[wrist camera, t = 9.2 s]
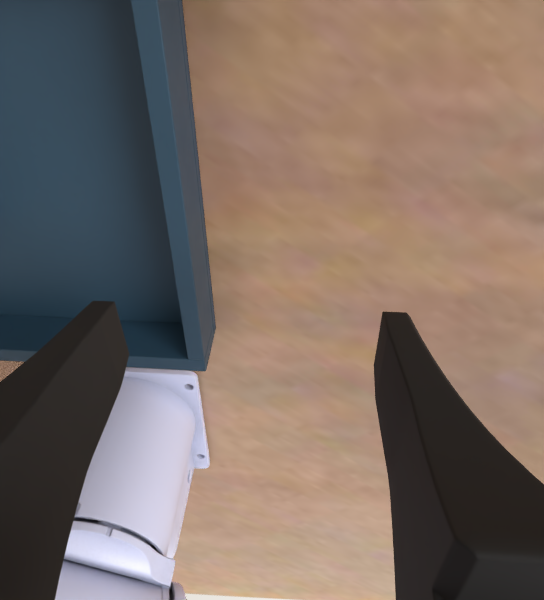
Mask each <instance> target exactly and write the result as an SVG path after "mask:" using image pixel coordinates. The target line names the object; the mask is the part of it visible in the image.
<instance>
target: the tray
mask: <svg viewBox="0 0 544 600" xmlns="http://www.w3.org/2000/svg"><path fill="white" fill-rule="evenodd" d="M92 301H115V304H116V308H117V312H118V315H119V319H120V322H121V326H122V329H123V333H124V337H125V340H126V344H127V347H128V351H129V358H128V362H127V366H126V367H133V368H152V369H171V370H189V371H206V368H207V364H208V360H209V355H210V351H211V347H212V342H213V338H214V333H215V329H216V325H215V315H214V305H213V296H212V286H211V276H210V267H209V257H208V247H207V238H206V228H205V218H204V209H203V199H202V189H201V180H200V170H199V160H198V151H197V141H196V131H195V122H194V112H193V102H192V93H191V83H190V73H189V64H188V54H187V44H186V35H185V25H184V15H183V6H182V0H0V360H3V361H22V362H26V361H27V360H28V359H29V358H30V357H32V356H33V355H34V354H35V353H36V352H38V351H39V350H40V349H41V348H42V347H43V346H44V345H45V344H46V343H48V342H49V341H50V340H51V339H52V338H53V337H54V336H55V335H56V334H57V333H59V332H60V331H61V330H62V329H63V328H64V327H65V326H66V325H67V324H68V323H69V322H70V321H71V320H72V319H74V318H75V317H76V316H77V315H78V314H79V313H80V312H81V311H82V310H83V309H84V308H85V307H86V306H88V305H89V304H90V303H91V302H92Z"/></svg>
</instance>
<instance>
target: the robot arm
mask: <svg viewBox="0 0 544 600" xmlns="http://www.w3.org/2000/svg"><path fill="white" fill-rule="evenodd" d="M128 358H129V351H128V347H127V344H126V340H125V337H124V333H123V329H122V326H121V322H120V319H119V315H118V312H117V308H116V304H115V301H92V302H91V303H90V304H89V305H88V306H86V307H85V308H84V309H83V310H82V311H81V312H80V313H79V314H78V315H77V316H76V317H75V318H74V319H72V320H71V321H70V322H69V323H68V324H67V325H66V326H65V327H64V328H63V329H62V330H61V331H60V332H59V333H57V334H56V335H55V336H54V337H53V338H52V339H51V340H50V341H49V342H48V343H46V344H45V345H44V346H43V347H42V348H41V349H40V350H39V351H38V352H36V353H35V354H34V355H33V356H32V357H30V358H29V359H28V360H27V361H26V362H24V363H23V364H22V365H21V366H19V367H18V368H17V369H16V370H15V371H13V372H12V373H11V374H10V375H9V376H7V377H6V378H5V379H3V380H2V381H1V382H0V600H187V599H186V597H185V592H184V590H183V587H182V586H181V585H180V584H179V583H176V582H172V576H173V571H174V567H175V562H176V561H175V560H174V559H173V557H174V555H175V552H176V550H177V546H178V542H179V537H180V532H181V528H182V523H183V518H184V513H185V509H186V504H187V499H188V495H189V490H190V485H191V480H192V476H193V471H194V468H200V469H205V468H208V467H209V464H210V457H209V450H208V443H207V436H206V430H205V423H204V416H203V409H202V402H201V395H200V389H199V382H198V376H197V374H195V373H194V372H192V371H188V370H169V369H150V368H132V367H126V366H127V362H128ZM374 378H375V398H376V406H377V412H378V418H379V424H380V430H381V436H382V442H383V448H384V454H385V460H386V466H387V472H388V479H389V487H390V499H391V514H392V529H393V547H394V566H395V589H396V600H544V484H543V483H541V482H540V481H539V480H538V479H537V478H536V477H535V476H533V475H532V474H531V473H530V472H529V471H528V470H527V469H526V468H525V467H524V466H523V465H522V464H521V463H520V462H519V461H518V460H517V459H516V458H514V457H513V456H512V455H511V454H510V453H509V452H508V451H507V450H506V449H505V448H504V447H503V446H502V445H501V444H500V443H499V442H498V440H497V439H496V438H495V437H494V436H493V435H492V434H491V433H490V432H489V431H488V430H487V429H486V427H485V426H484V425H483V424H482V423H481V422H480V421H479V419H478V418H477V417H476V416H475V415H474V414H473V412H472V411H471V410H470V409H469V407H468V406H467V405H466V404H465V402H464V401H463V400H462V398H461V397H460V396H459V394H458V393H457V392H456V390H455V389H454V388H453V386H452V385H451V384H450V382H449V381H448V379H447V378H446V376H445V375H444V373H443V372H442V370H441V369H440V367H439V366H438V364H437V363H436V361H435V360H434V358H433V357H432V355H431V354H430V352H429V350H428V349H427V347H426V345H425V343H424V342H423V340H422V338H421V337H420V335H419V333H418V331H417V329H416V327H415V325H414V324H413V322H412V320H411V318H410V316H409V315H408V314H407V313H402V312H383V313H382V319H381V325H380V332H379V338H378V344H377V350H376V356H375V362H374ZM190 384H191V385H190Z"/></svg>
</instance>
